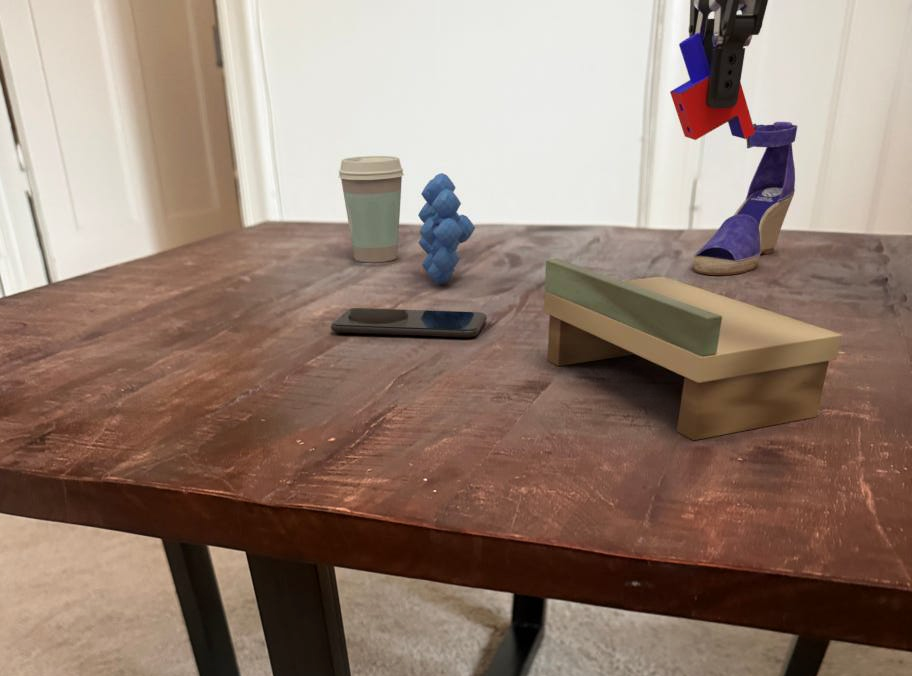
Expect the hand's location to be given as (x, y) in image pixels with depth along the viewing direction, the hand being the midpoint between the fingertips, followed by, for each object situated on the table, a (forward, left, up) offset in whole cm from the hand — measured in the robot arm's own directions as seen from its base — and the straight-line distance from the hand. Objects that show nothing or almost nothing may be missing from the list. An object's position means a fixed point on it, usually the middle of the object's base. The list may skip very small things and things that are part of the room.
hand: (712, 105), depth 67 cm
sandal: (-19, -40, -19) cm, 49 cm away
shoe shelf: (+3, +8, -19) cm, 21 cm away
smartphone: (+24, -13, -19) cm, 33 cm away
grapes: (+19, -33, -19) cm, 43 cm away
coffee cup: (+28, -50, -19) cm, 61 cm away
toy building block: (0, 0, -2) cm, 2 cm away
